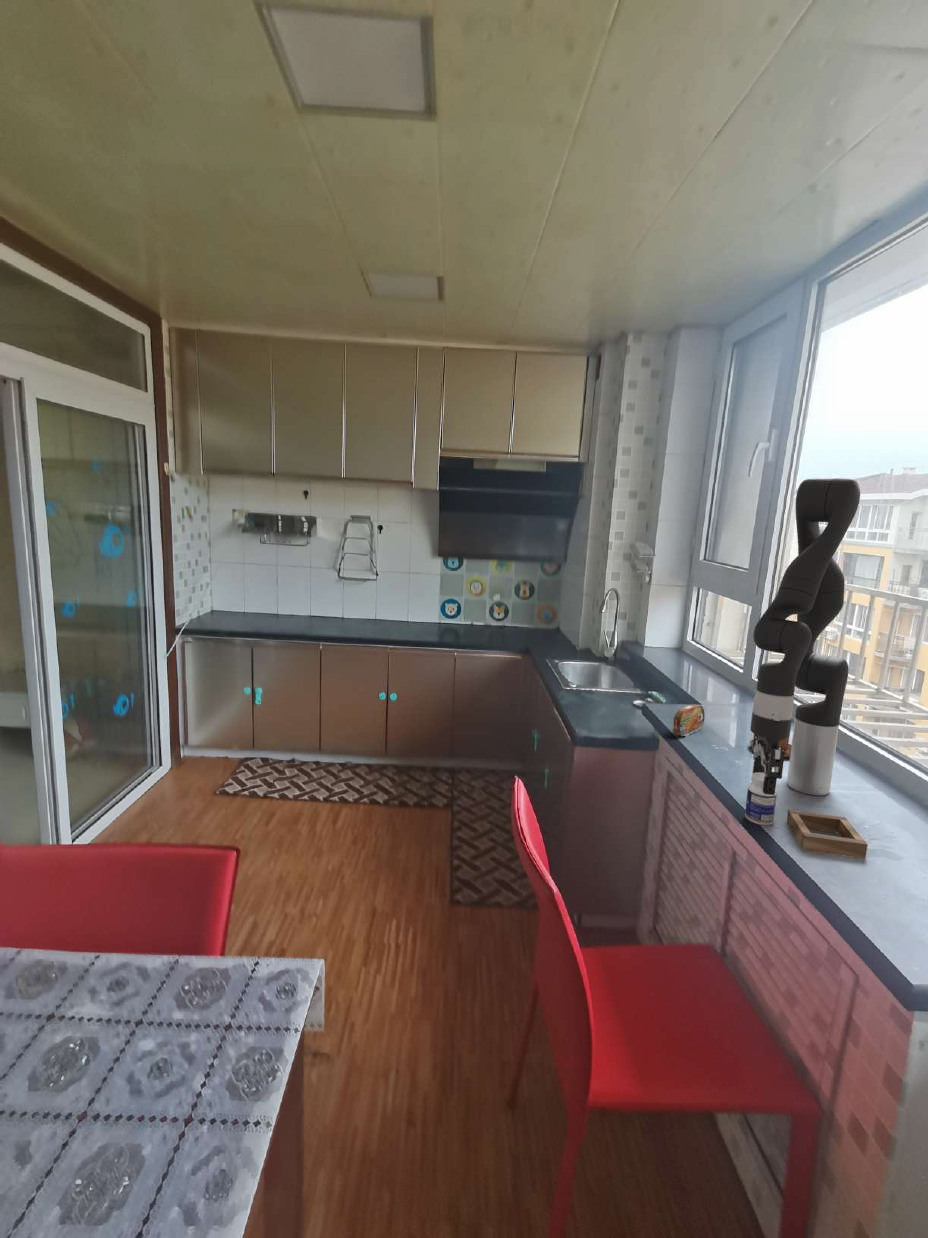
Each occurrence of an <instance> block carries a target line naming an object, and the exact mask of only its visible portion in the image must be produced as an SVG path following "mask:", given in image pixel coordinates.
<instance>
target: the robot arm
mask: <svg viewBox="0 0 928 1238" xmlns="http://www.w3.org/2000/svg"><path fill="white" fill-rule="evenodd" d="M860 500H861V487H860V484H859V483H858V481H857V480H856V479H854V478H848V477H827V478H826V477H825V478H824V477H823V478H822V477H821V478H818V477H817V478H816V477H815V478H814V477H813V478H806V479H804V480H803V481H802V482H801V483H799V485H798V489H797V491H796V495H795V523H796V534H797V535H796V536H797V556H796V557H795V558H793V560H792V561H791V562H790V564H789V565H788V566H787V568H786V570H785V572H784V574H783V577H782V579H781V582H780V584H779V587H778V590H777V592H776V596H775V597H774V599H773V601H772V602H771V603H770V604H769V605H768V607H767V609H766V610H765V611H764V613H763V614H762V616H761V617H760V618H759V619H758V621H757V622H756V624H755V627H754V629H753V634H752V635H753V642H754V644H755V645H756V647H757V648H758V649H760V650H762V651H768V652H772V653H778V654H783V656H784V657H783V658H782V660H781V661H779V662H765V663H763V664H760V666H759V668H758V675H757V682H756V690H755V695H754V697H753V701H752V702H753V703H752V711H751V721H750V727H749V729H750V732H752V733H753V739H752V740H753V744H752V746H751V749H750V752H751V755H752V760H753V766H752V774H753V773H756V772H761V773H764V775H765V776H764V783H763V793H764V794H769V795H774V794H775V789H776V790H777V788H776V787H777V782H778V781H777V780H778V779H779V780H781V779H782V778H783V769H784V761H785V760H784V759H785V757H784V754H785V752H784V750H781V747H780V746H779V741H780V740H782V739H787V738H789V739H790V736H791V730H792V722H793V714H794V713H795V714H794V722H793V731H792V739H791V744H790V745H791V753H790V757H789V762H788V769H787V777H786V778H787V779H786V785H788V787H790V788H791V789H793V790H795V791H797V792H799V793H803V794H806V795H813V796H826V795H828V794H830V791H831V783H832V777H833V772H834V771H833V770H834V766H835V764H834V763H835V757H836V750H837V743H838V742H837V741H838V736H839V735H838V734H839V728H840V720H841V714H842V709H843V705H844V704H843V702H844V697H845V692H846V687H847V682H848V677H849V664H848V661H847V660H846V659H844V658H842V657H837V656H832V655H825V654H818V653H814V646H815V643H816V641H817V639H818V638H819V636H820V635H821V633H822V632H823V631H825V629H826V628H827V627H828V626H829V625H830V624H831V622H833V621H834V620H835V619H836V618H837V617H838V615H839V614H840V612H841V610H842V609H843V607H844V604H845V603H844V601H845V585H846V584H845V581H846V580H845V576H844V573H843V571H842V570H841V568H840V566H839V564H838V563H837V561H836V560H835V558H834V556H835V553H836V551H837V550H838V549H839V546H840V544H841V543H842V541H843V539H844V537H845V535H846V533H847V531H848V530H849V527H850V525H851V524H852V522H853V519H854V517H855V515H856V513H857V511H858V507H859V504H860ZM820 523H827V525H826V526H825V527H824V529H823V530H822V532H821V530H820ZM793 615H796V621H795V620H789V619H787V618H789V617H790V616H793ZM795 688H796V689H799V690H801V691H805V692H810V693H811V692H812V693H814V694H815V693H816V694H819V695H820V694H821V695H824V696H825V698H824V700H821V701H818V702H810V703H802V704H799V705H798V706H797V707H796V709H795V708H794V707H795V704H794V703H795V702H794V701H795V700H794V698H795V690H796V689H795ZM794 709H795V712H794ZM752 774H751V775H752Z"/></svg>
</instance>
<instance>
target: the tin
mask: <svg viewBox="0 0 928 1238" xmlns="http://www.w3.org/2000/svg"><path fill="white" fill-rule="evenodd" d="M705 716H706V715H705V709H704V707H703V706H702V705H700V704H689V705H687V706H685V707H682V708H679V709H678V710H677V711H676V713H675V714H674V717H673V732H674V734H675V735H676V736H679V735H680V737H683V736H684V735H685V734H687V733H690V732H691V731H694V730H695V729H700V728H701V729H702V727H703V725H704V722H705ZM701 729H700V730H701Z"/></svg>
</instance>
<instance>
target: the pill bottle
mask: <svg viewBox="0 0 928 1238" xmlns="http://www.w3.org/2000/svg"><path fill="white" fill-rule="evenodd" d="M752 773H753V772H752ZM764 776H765V775H764V773H761V772H756V773H753V774H751V782H750V783H749V784H748V786H747V794H746V801H745V811H744V816H745V818H746V819H747V820H748V821H749V822H750V823H754V824H756V825H759V826H760V825H761V826H770V825H772V824H774V822H775V815H776V807H777V806H776V805H777V799H778V798H777V797H778V791H777V788H776V789H775V794H774V795H769V794H764V793H763V783H764Z"/></svg>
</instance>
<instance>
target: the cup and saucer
mask: <svg viewBox="0 0 928 1238" xmlns="http://www.w3.org/2000/svg"><path fill="white" fill-rule="evenodd" d="M789 742H790V737H789V738H787V739H782V740H780V741H779V746H780V747H781V750H784V752H785V754H784V758H790V753H791V745H792V744H790V743H789ZM749 744H750V745H749V746H750V747H752V744H753V739H751V740H750V741H749Z"/></svg>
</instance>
